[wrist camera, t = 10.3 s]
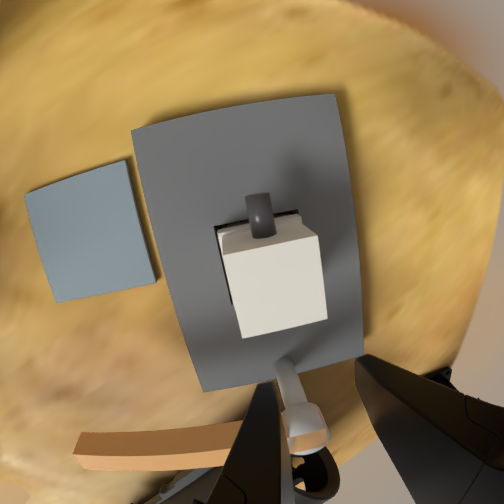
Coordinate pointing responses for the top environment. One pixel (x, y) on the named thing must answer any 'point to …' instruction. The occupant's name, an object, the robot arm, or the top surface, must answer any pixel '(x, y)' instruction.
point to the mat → (90, 234)
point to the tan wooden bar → (192, 444)
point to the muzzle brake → (311, 472)
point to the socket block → (234, 209)
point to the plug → (272, 269)
